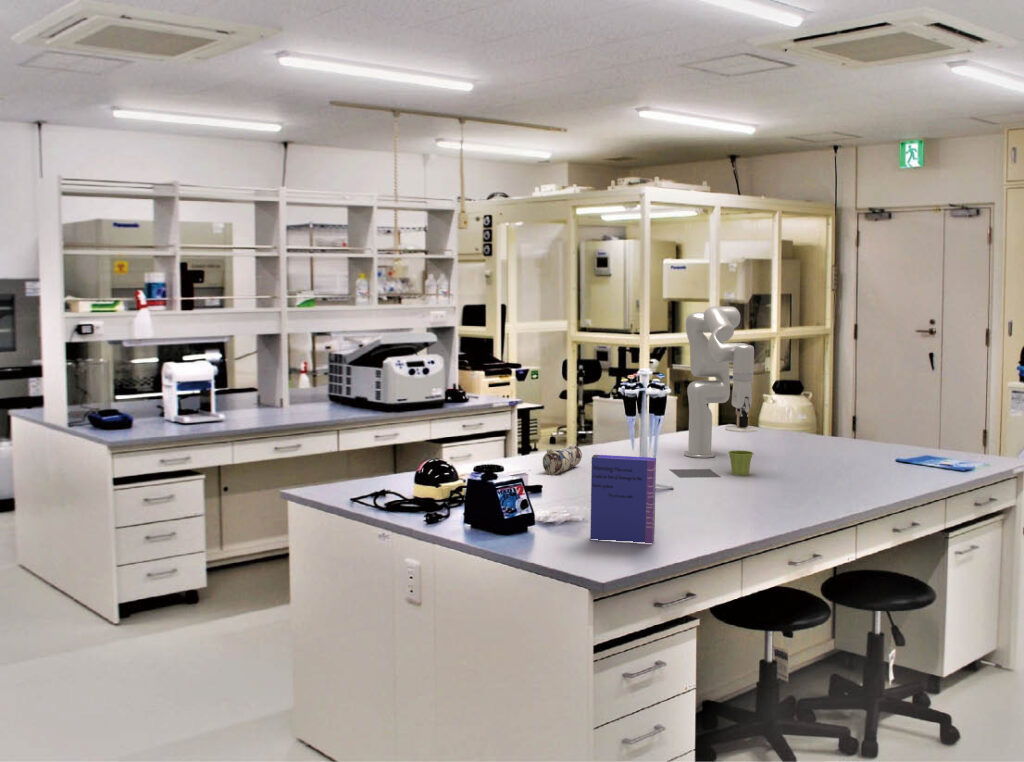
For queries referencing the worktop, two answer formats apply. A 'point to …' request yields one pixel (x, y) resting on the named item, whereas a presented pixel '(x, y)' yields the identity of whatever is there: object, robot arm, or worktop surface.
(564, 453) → the pencil case
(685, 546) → the worktop surface
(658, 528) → the worktop surface
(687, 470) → the mat
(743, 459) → the plant pot
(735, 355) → the robot arm
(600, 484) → the blue hardcover book
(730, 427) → the lid
